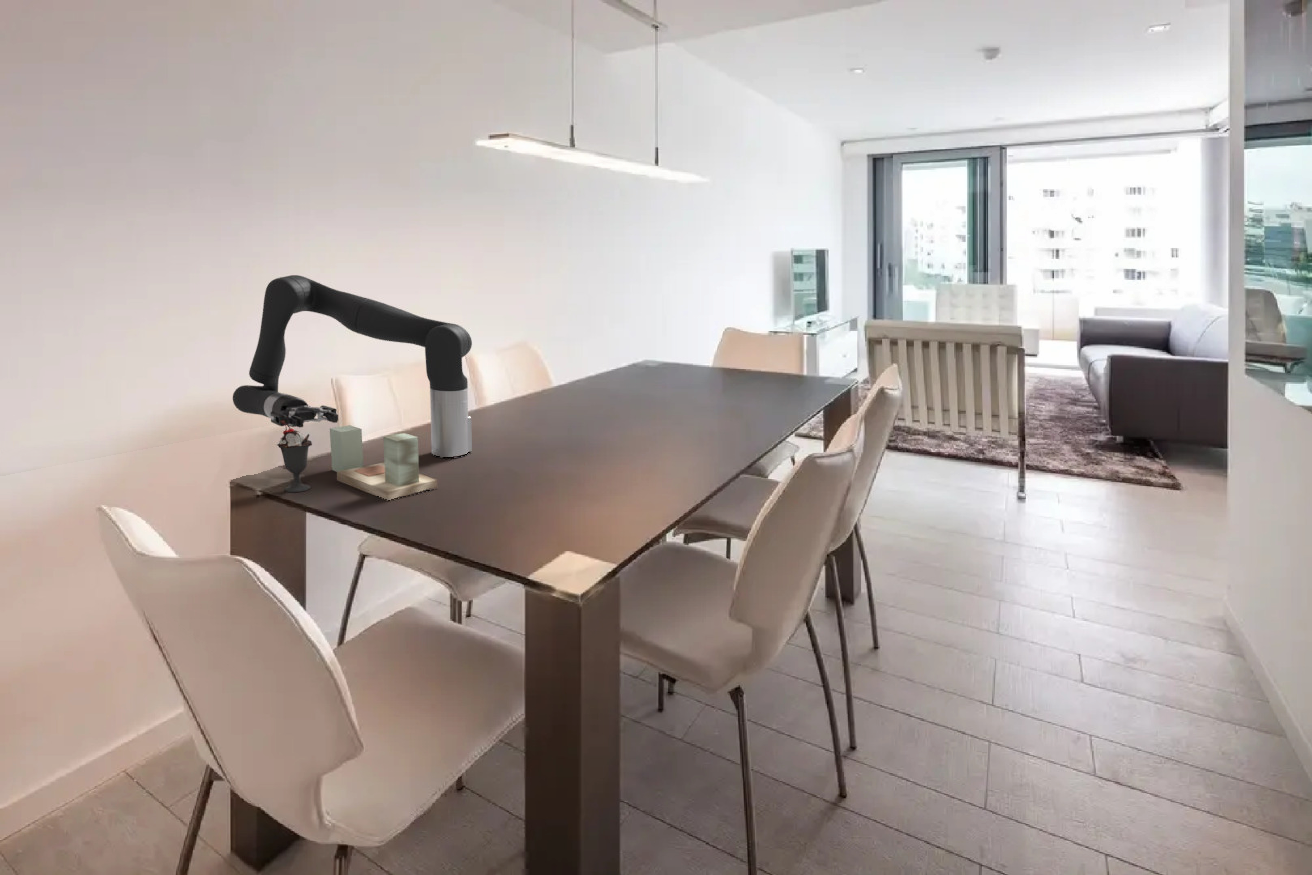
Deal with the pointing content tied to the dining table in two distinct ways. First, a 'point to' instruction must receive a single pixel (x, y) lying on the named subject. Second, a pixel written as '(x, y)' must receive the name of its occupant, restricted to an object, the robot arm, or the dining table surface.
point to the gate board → (381, 484)
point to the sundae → (295, 456)
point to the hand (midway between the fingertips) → (319, 420)
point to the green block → (346, 448)
